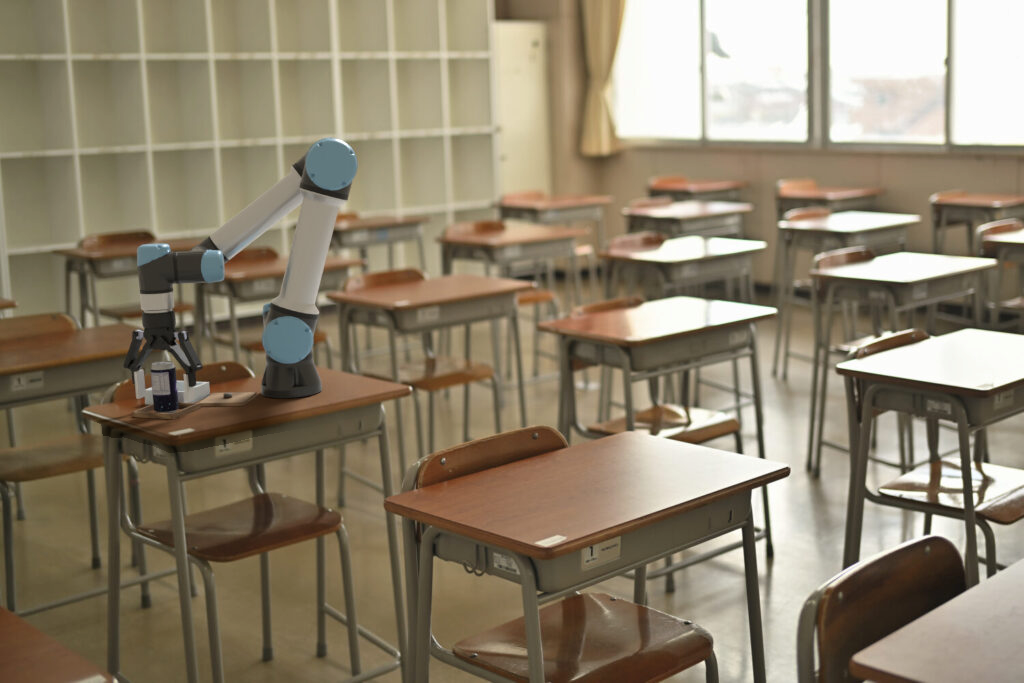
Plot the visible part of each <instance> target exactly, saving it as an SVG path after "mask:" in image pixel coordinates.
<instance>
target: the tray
mask: <svg viewBox="0 0 1024 683" xmlns="http://www.w3.org/2000/svg"><path fill="white" fill-rule="evenodd" d="M145 392H146V397H144V405H148V406H149V405H151V404H153V393H152V386H151V387H148V388H145ZM177 392H178V402H186V403H198V402H200V401H202V400H203V399H205V398H206V397H208V396H209V395H210V394H211V390H210V381H196V386H194V395H195V399H193V400H191V401H185V389H184V380H177Z"/></svg>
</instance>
